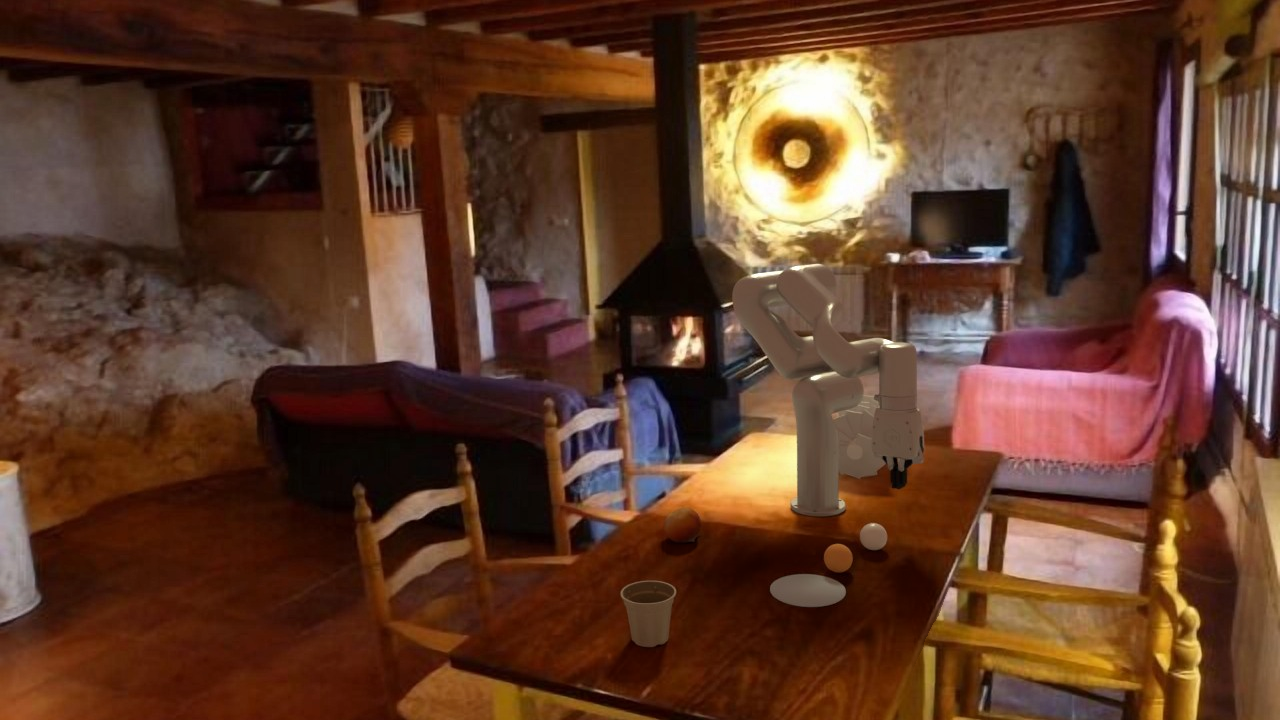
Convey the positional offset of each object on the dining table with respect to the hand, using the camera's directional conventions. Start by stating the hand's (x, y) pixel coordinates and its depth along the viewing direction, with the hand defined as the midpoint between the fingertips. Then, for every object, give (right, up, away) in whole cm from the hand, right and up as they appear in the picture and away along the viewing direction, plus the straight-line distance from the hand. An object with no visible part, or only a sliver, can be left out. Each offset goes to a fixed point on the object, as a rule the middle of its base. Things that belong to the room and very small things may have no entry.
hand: (898, 487), depth 201 cm
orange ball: (-16, -12, -15) cm, 25 cm away
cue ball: (-6, -10, -5) cm, 13 cm away
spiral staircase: (+4, -2, +50) cm, 50 cm away
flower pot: (-53, -21, -39) cm, 69 cm away
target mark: (-23, -16, -22) cm, 36 cm away
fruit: (-45, -12, +5) cm, 47 cm away
